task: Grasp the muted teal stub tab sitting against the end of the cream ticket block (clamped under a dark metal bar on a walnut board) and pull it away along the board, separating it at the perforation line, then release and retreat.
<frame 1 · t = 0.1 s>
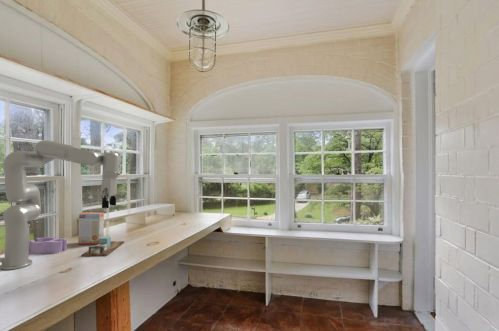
hand: (109, 206, 142), 31 cm above the counter, fingers open, 9 cm apart
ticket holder: (102, 250, 165), on the counter
clip: (47, 251, 161), on the counter
cracker box: (90, 243, 179), on the counter
stub: (104, 242, 168), point 4 cm above the counter, slide at 0.0 cm
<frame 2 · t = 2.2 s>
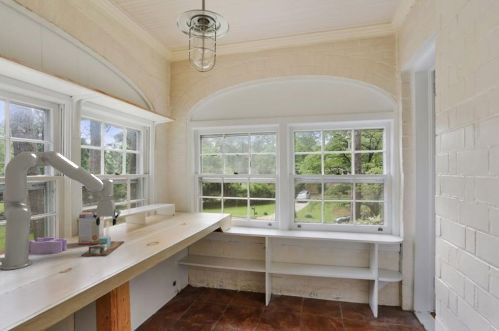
hand: (106, 225, 168), 15 cm above the counter, fingers open, 9 cm apart
nothing on the counter moved.
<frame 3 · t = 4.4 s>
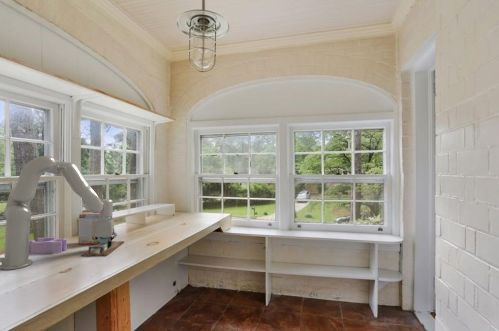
hand: (104, 246, 168), 1 cm above the counter, fingers closed on stub, 5 cm apart
stub: (104, 242, 168), point 4 cm above the counter, slide at 0.0 cm, touching gripper
everything else where it was.
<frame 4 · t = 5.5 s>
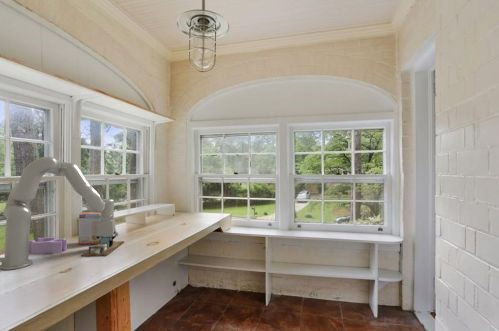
hand: (106, 245, 170), 1 cm above the counter, fingers closed on stub, 5 cm apart
stub: (106, 241, 170), point 4 cm above the counter, slide at 2.0 cm, touching gripper
everything else where it was.
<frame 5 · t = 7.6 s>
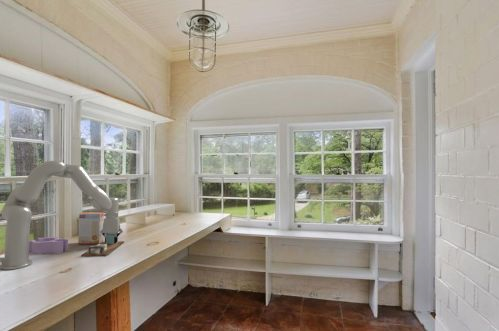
hand: (111, 242, 178), 1 cm above the counter, fingers closed on stub, 5 cm apart
stub: (111, 238, 178), point 4 cm above the counter, slide at 10.0 cm, touching gripper
everything else where it was.
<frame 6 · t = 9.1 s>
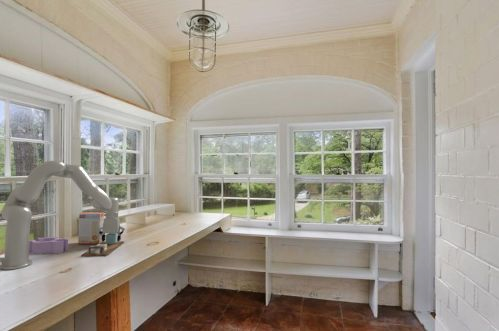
hand: (111, 241, 178), 2 cm above the counter, fingers open, 9 cm apart
cracker box: (90, 243, 179), on the counter, touching gripper
stub: (111, 238, 178), point 4 cm above the counter, slide at 10.0 cm
everything else where it was.
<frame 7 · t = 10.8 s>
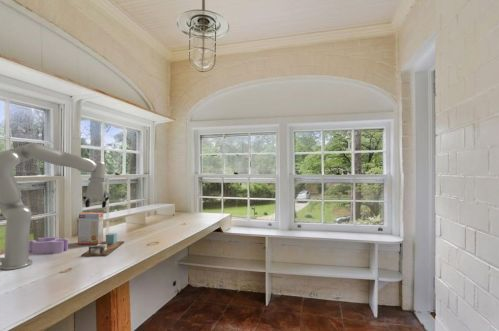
hand: (95, 207, 166), 27 cm above the counter, fingers open, 9 cm apart
cracker box: (90, 243, 179), on the counter
everything else where it was.
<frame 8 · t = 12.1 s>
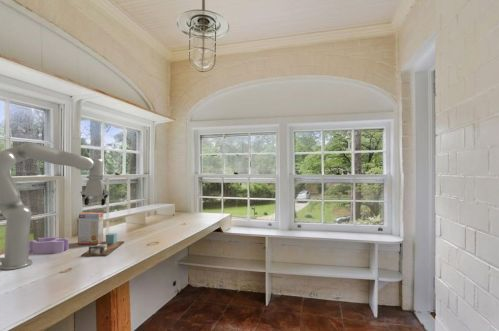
hand: (94, 205, 166), 28 cm above the counter, fingers open, 9 cm apart
at the end: stub slide at 10.0 cm; the gripper is holding nothing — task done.
